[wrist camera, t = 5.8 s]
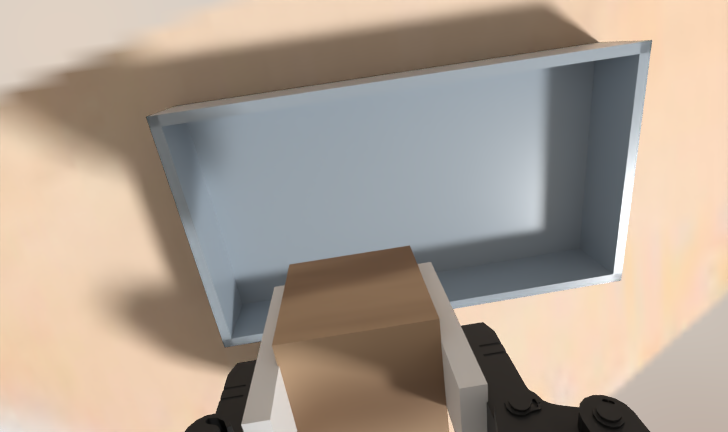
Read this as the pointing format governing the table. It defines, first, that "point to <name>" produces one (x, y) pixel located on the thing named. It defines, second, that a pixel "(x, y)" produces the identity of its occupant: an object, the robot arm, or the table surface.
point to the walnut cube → (361, 345)
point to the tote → (415, 176)
